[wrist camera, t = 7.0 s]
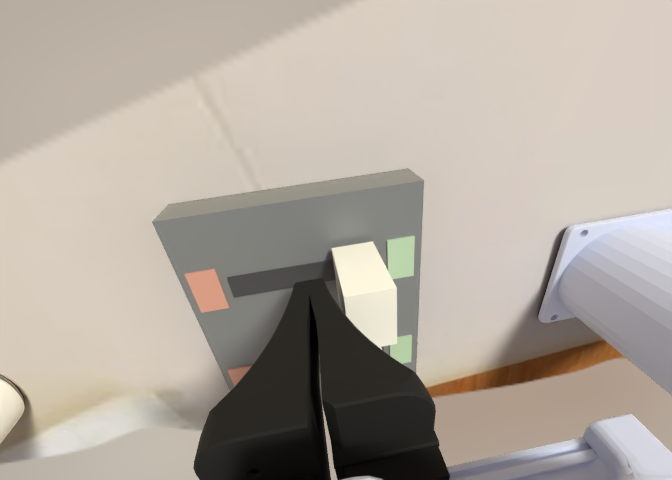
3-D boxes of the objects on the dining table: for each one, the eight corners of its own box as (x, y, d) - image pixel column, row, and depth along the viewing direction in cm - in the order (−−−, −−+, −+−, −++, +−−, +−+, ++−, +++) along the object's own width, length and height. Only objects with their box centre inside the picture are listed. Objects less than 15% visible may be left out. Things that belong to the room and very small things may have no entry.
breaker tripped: (372, 241, 14) (396, 287, 11) (375, 290, 15) (397, 343, 12) (331, 248, 14) (343, 297, 11) (338, 296, 15) (350, 352, 12)
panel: (408, 168, 15) (424, 181, 13) (405, 361, 22) (416, 387, 21) (168, 204, 14) (150, 222, 12) (247, 392, 22) (243, 422, 20)
